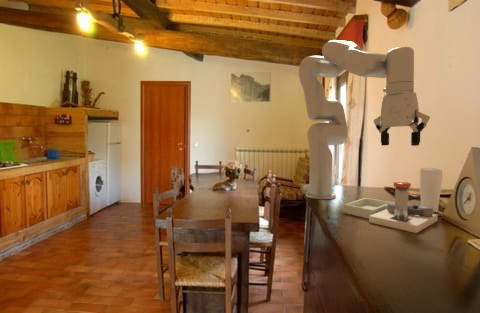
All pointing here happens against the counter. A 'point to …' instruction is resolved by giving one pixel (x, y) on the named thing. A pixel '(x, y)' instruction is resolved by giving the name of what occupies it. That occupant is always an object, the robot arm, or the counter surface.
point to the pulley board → (416, 219)
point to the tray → (365, 207)
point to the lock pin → (401, 201)
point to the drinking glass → (430, 187)
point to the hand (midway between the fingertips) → (399, 145)
